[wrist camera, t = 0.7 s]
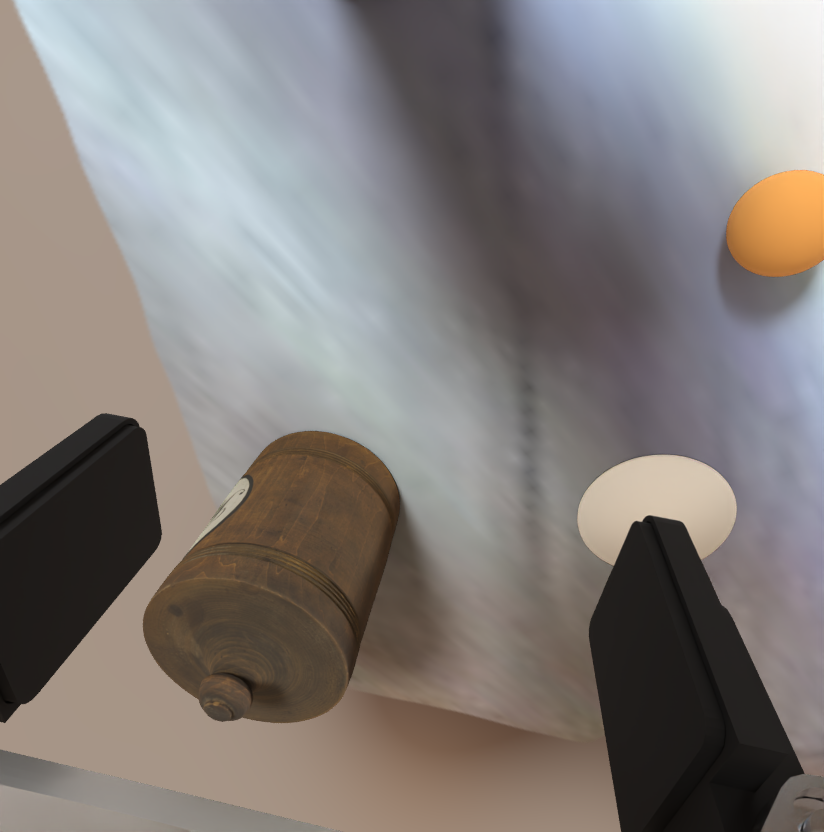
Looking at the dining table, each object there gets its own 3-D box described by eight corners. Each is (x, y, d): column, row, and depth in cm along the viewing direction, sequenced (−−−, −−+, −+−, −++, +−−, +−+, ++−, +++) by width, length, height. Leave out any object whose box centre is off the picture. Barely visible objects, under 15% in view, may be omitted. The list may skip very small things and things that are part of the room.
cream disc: (595, 444, 44) (595, 446, 44) (759, 465, 42) (761, 467, 42) (564, 559, 50) (564, 561, 50) (706, 580, 49) (707, 582, 49)
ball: (730, 163, 33) (773, 169, 28) (833, 170, 32) (896, 178, 27) (699, 260, 36) (732, 282, 31) (793, 268, 35) (842, 293, 30)
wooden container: (239, 425, 49) (68, 618, 30) (396, 433, 46) (322, 647, 27) (265, 547, 56) (141, 765, 37) (403, 559, 53) (348, 798, 34)
